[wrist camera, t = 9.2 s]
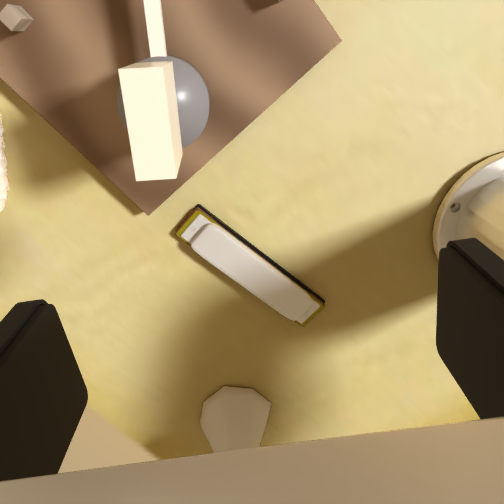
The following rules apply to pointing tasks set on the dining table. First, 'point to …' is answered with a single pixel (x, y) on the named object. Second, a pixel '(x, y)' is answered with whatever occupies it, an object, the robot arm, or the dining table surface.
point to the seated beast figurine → (3, 170)
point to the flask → (234, 419)
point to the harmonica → (249, 266)
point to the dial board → (137, 49)
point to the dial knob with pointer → (161, 104)
